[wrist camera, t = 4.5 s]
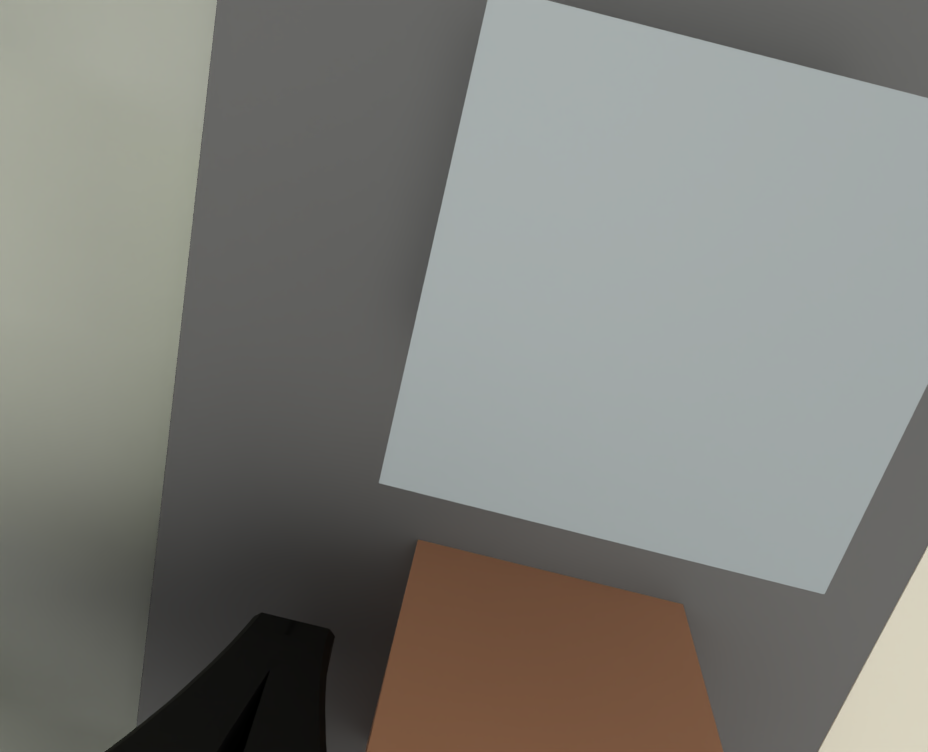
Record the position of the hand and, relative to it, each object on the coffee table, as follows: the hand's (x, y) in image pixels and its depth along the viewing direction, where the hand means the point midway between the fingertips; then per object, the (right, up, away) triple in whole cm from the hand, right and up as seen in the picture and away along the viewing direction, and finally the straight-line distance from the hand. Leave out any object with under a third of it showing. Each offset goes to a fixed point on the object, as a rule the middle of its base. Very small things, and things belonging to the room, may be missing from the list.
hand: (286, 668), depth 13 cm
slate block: (+5, +7, -2) cm, 9 cm away
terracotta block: (+4, 0, +1) cm, 4 cm away
